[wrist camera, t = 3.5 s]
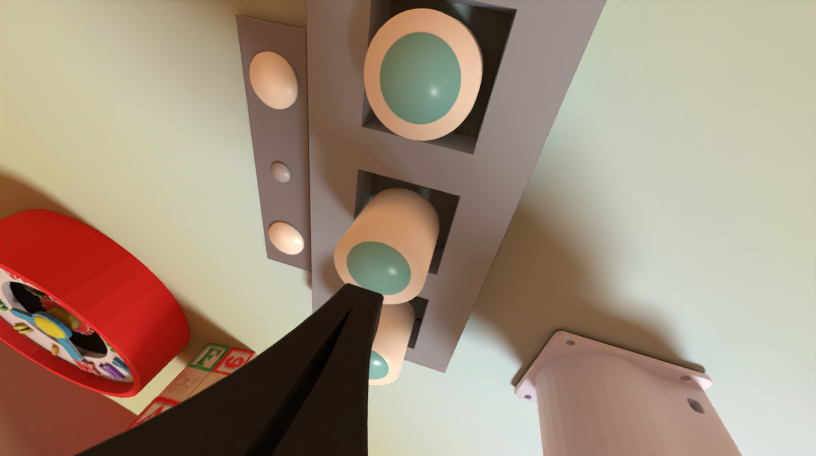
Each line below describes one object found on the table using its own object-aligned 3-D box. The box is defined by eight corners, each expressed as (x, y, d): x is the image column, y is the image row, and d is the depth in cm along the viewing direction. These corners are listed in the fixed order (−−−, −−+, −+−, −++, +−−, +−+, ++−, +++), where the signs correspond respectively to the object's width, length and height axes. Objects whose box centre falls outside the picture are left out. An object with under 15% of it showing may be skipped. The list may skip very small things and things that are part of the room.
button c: (496, 26, 12) (497, 22, 9) (468, 127, 14) (461, 152, 11) (401, 7, 12) (368, -4, 9) (388, 107, 15) (359, 127, 11)
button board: (598, -24, 11) (623, -38, 9) (449, 343, 23) (444, 372, 21) (337, -69, 12) (304, -92, 10) (328, 304, 24) (312, 329, 22)
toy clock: (85, 291, 21) (165, 419, 32) (162, 244, 26) (208, 369, 37) (-136, 213, 23) (12, 359, 34) (-27, 183, 28) (72, 319, 39)
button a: (420, 299, 18) (404, 354, 15) (409, 338, 20) (393, 393, 17) (358, 280, 19) (330, 329, 15) (354, 321, 21) (329, 371, 18)
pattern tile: (309, 30, 14) (303, 29, 13) (313, 268, 22) (309, 272, 22) (242, 15, 14) (233, 14, 14) (270, 254, 23) (266, 259, 22)
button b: (448, 200, 14) (434, 245, 11) (430, 262, 17) (415, 315, 13) (369, 178, 15) (334, 217, 12) (362, 242, 17) (332, 289, 14)
